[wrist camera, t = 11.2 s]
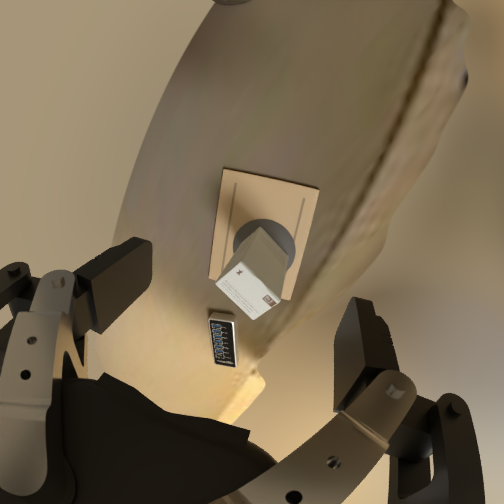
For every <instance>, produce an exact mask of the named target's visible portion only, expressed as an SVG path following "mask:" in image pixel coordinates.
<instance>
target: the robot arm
mask: <svg viewBox="0 0 504 504" xmlns="http://www.w3.org/2000/svg"><path fill="white" fill-rule="evenodd" d="M213 1H214V2H217V3H219V4H224V5H235V4H241V3H244V2H247V1H250V0H213ZM151 279H152V243H151V242H150V241H148V240H144V239H141V238H138V237H132V238H130V239H129V240H127V241H125V242H124V243H122V244H121V245H118V246H115V247H112V248H109V249H108V250H106V251H104V252H103V253H101V255H98V256H97V257H95V259H92V260H90V261H89V262H87V263H86V264H85V265H83V266H81V267H80V268H78V269H77V270H75V271H74V272H70V271H67V270H54V271H51V272H49V273H47V274H45V275H44V276H43V277H42V278H36V277H31V273H30V269H29V266H28V264H26V263H24V262H15V263H11V264H9V265H7V266H5V267H4V268H2V269H1V270H0V309H2V308H3V307H4V306H5V305H6V304H9V307H10V310H11V313H12V316H13V319H12V320H10V321H9V322H8V323H7V324H6V325H5V326H4V327H3V328H2V329H0V504H341V503H342V502H343V501H344V500H345V499H346V498H347V497H348V496H349V495H350V494H351V493H352V492H353V491H354V489H355V488H356V487H357V486H358V485H359V484H360V483H361V482H362V480H363V479H364V478H365V477H366V476H367V474H368V473H369V472H370V471H371V470H372V469H373V467H374V466H375V465H376V464H377V462H378V461H379V460H380V458H381V457H382V456H383V454H384V453H385V454H388V455H390V471H389V493H388V504H485V492H484V482H483V474H482V467H481V460H480V454H479V449H478V444H477V439H476V434H475V430H474V426H473V422H472V418H471V414H470V410H469V408H468V405H467V404H466V402H465V401H464V400H463V399H462V398H461V397H459V396H458V395H456V394H452V393H446V394H443V395H442V396H441V397H440V398H439V399H438V400H437V401H436V402H434V401H431V400H429V399H426V398H424V397H421V396H419V395H417V390H416V387H415V385H414V383H413V381H412V380H411V379H410V378H409V377H408V376H406V375H405V374H403V373H402V372H400V370H399V365H398V361H397V357H396V353H395V349H394V346H393V342H392V338H390V337H391V335H390V331H389V328H388V325H387V324H386V323H385V321H384V320H383V319H382V317H380V316H376V314H375V310H374V307H373V303H372V301H370V300H365V299H361V298H358V297H352V298H351V300H350V302H349V304H348V306H347V309H346V311H345V313H344V315H343V318H342V320H341V322H340V325H339V327H338V329H337V331H336V335H335V340H334V408H333V412H337V413H338V414H337V415H336V416H335V417H334V418H333V419H332V420H331V421H329V422H328V423H327V424H326V425H325V426H324V427H323V428H322V429H320V430H319V431H318V432H317V433H316V434H315V435H313V436H312V437H311V438H310V439H309V440H307V441H306V442H305V443H304V444H302V445H301V446H300V447H299V448H297V449H296V450H295V451H293V452H292V453H291V454H290V455H288V456H287V457H286V458H284V459H283V460H282V461H280V462H279V463H278V462H277V461H276V460H274V458H273V457H272V456H271V455H269V454H268V453H267V452H266V451H264V450H263V449H262V448H260V447H258V446H257V445H255V444H254V443H251V442H250V441H248V437H249V434H250V430H247V429H243V428H239V427H236V426H232V425H229V424H226V423H223V422H219V421H216V420H213V419H210V418H201V417H194V416H187V415H181V414H175V413H170V412H167V411H164V410H163V409H161V408H160V407H159V406H157V405H156V404H155V403H153V402H152V401H151V400H149V399H148V398H147V397H146V396H144V395H143V394H142V393H140V392H139V391H138V390H137V389H135V388H134V387H132V386H130V385H128V384H126V383H124V382H122V381H120V380H118V379H116V378H114V377H112V376H110V375H108V374H107V373H105V372H104V373H103V374H102V376H101V377H100V378H99V379H98V380H93V379H88V373H87V372H88V370H87V356H88V336H87V331H88V330H89V329H92V330H93V331H95V332H97V333H99V334H102V333H103V332H104V331H105V330H106V329H107V328H108V327H109V326H110V325H111V324H112V323H113V322H114V321H115V320H116V319H117V318H118V317H119V316H120V315H121V314H122V313H123V312H124V311H125V310H126V309H127V308H128V307H129V306H130V305H131V304H132V303H133V302H134V301H135V300H136V299H137V298H138V297H139V296H140V295H141V294H142V293H143V292H144V291H145V290H146V289H147V288H148V287H149V285H150V283H151ZM432 454H433V463H434V476H433V479H432V481H431V474H430V459H429V456H430V455H432Z"/></svg>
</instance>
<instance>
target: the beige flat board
mask: <svg viewBox="0 0 504 504" xmlns="http://www.w3.org/2000/svg"><path fill="white" fill-rule="evenodd" d="M319 191H320V190H319V189H315V188H311V187H307V186H303V185H299V184H294V183H290V182H286V181H282V180H277V179H273V178H268V177H263V176H259V175H254V174H249V173H244V172H239V171H234V170H228V169H224V170H223V177H222V183H221V190H220V196H219V203H218V210H217V217H216V224H215V232H214V239H213V247H212V255H211V263H210V271H209V279H213V280H217V279H218V277H219V276H220V275H221V273H222V271H223V270H224V268H225V267H226V265H227V264H228V262H229V261H230V259H231V258H232V256H233V255H234V253H235V252H236V250H237V249H238V247H239V246H240V244H241V243H242V242H243V241H244V240H245V239H246V238H247V237H248V236H250V235H251V234H252V233H253V232H254V231H255V230H256V229H258V228H259V227H262V228H263V229H264V230H265V231H266V233H267V234H268V235H269V236H270V237H271V238H272V239H273V240H274V241H275V242H276V243H277V244H278V245H279V247H280V248H281V249H282V250H283V251H284V252H285V253H286V254H287V255H288V257H289V258H288V263H287V269H286V274H285V279H284V285H283V290H282V296H281V298H282V299H286V300H289V301H290V298H291V295H292V292H293V288H294V285H295V281H296V278H297V274H298V271H299V267H300V264H301V260H302V257H303V253H304V249H305V246H306V242H307V238H308V234H309V231H310V227H311V223H312V219H313V215H314V211H315V207H316V203H317V199H318V195H319Z"/></svg>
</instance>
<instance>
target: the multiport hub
mask: <svg viewBox="0 0 504 504" xmlns="http://www.w3.org/2000/svg"><path fill="white" fill-rule="evenodd" d="M208 322H209V329H210V337H211V344H212V352H213V358H214V363H215V364H217V365H222V366H228V367H234V368H236V367H237V365H238V362H239V345H238V329H237V316H236V315H232V314H224V313H217V312H213V313H212V314H211V316H210V317H209V319H208Z"/></svg>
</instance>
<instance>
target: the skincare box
mask: <svg viewBox="0 0 504 504" xmlns="http://www.w3.org/2000/svg"><path fill="white" fill-rule="evenodd" d="M288 258H289V257H288V255H287V254H286V253H285V252H284V251H283V250H282V249H281V248H280V247H279V245H278V244H277V243H276V242H275V241H274V240H273V239H272V238H271V237H270V236H269V235H268V234H267V233H266V231H265V230H264V229H263V228H262V227H259V228H258V229H256V230H255V231H254V232H253V233H252V234H251V235H250V236H248V237H247V238H246V239H245V240H244V241H243V242H242V243H241V244H240V246H239V247H238V249H237V250H236V252H235V253H234V255H233V256H232V258H231V259H230V261H229V262H228V264H227V265H226V267H225V268H224V270H223V271H222V273H221V275H220V276H219V277H218V279H217V280H216V282H215V284H216V285H217V286H218V287H219V288H220V289H221V290H222V291H223V292H224V293H225V294H226V295H227V296H228V297H229V298H231V299H232V300H233V301H234V302H235V303H236V304H237V305H238V306H239V307H240V308H241V309H242V310H243V311H244V312H245V313H246V314H247V315H248V316H249V317H251V318H252V319H253V320H255V319H256V318H257V317H259V316H260V315H262V314H263V313H265V312H266V311H267V310H269V309H270V308H272V307H273V306H275V305H276V304H278V303H279V302H280V301H281V296H282V290H283V285H284V279H285V274H286V269H287V263H288Z"/></svg>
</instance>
